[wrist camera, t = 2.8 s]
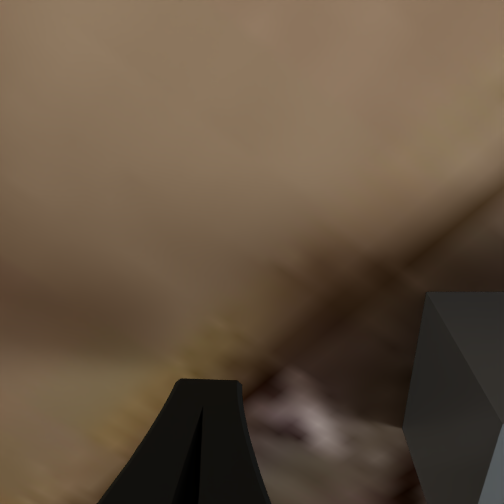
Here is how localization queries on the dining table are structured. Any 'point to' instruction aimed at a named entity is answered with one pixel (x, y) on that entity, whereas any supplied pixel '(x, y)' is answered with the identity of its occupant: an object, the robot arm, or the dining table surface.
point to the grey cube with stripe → (458, 399)
